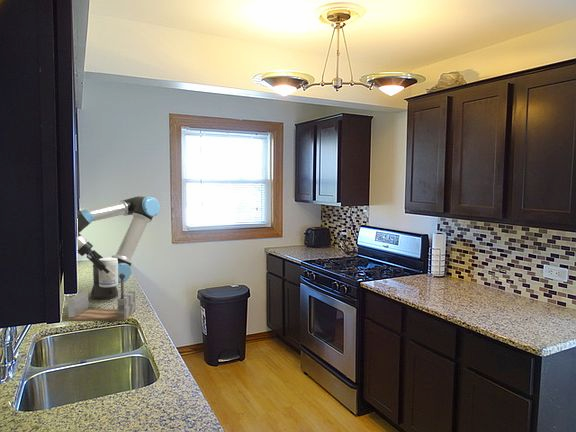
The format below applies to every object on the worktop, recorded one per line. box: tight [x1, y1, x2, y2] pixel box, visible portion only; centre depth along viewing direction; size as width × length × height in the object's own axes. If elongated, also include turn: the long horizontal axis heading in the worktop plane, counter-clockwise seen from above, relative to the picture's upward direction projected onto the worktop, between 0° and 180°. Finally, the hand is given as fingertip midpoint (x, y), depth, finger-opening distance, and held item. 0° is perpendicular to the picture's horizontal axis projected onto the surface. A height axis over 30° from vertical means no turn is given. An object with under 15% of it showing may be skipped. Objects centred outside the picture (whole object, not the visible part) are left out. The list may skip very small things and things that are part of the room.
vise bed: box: [65, 273, 136, 322], centre depth 207 cm, size 16×28×23 cm, turn 92°
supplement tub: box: [99, 256, 119, 287], centre depth 221 cm, size 10×10×15 cm
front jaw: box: [67, 291, 89, 318], centre depth 207 cm, size 15×3×9 cm, turn 2°
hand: (114, 274), depth 222 cm, fingers closed on supplement tub, 9 cm apart
